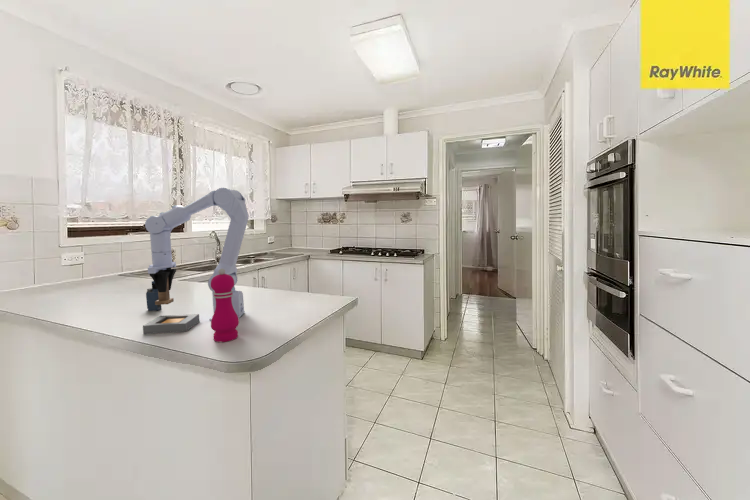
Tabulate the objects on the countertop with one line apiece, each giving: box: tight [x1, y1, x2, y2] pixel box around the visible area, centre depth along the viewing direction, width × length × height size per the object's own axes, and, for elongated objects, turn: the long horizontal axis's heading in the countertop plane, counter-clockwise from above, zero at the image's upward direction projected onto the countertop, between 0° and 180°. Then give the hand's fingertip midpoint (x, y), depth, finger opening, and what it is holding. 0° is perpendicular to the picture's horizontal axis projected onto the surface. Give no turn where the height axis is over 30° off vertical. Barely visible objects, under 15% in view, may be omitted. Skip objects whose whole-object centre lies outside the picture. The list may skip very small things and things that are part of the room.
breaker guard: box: [142, 313, 201, 335], centre depth 102 cm, size 12×10×2 cm
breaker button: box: [162, 318, 185, 323], centre depth 102 cm, size 5×5×2 cm
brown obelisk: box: [155, 279, 174, 306], centre depth 111 cm, size 4×4×10 cm
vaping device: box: [145, 280, 163, 312], centre depth 122 cm, size 3×5×12 cm, turn 79°
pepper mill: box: [210, 269, 240, 343], centre depth 91 cm, size 7×7×20 cm
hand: (164, 291), depth 111 cm, fingers closed on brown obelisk, 2 cm apart
